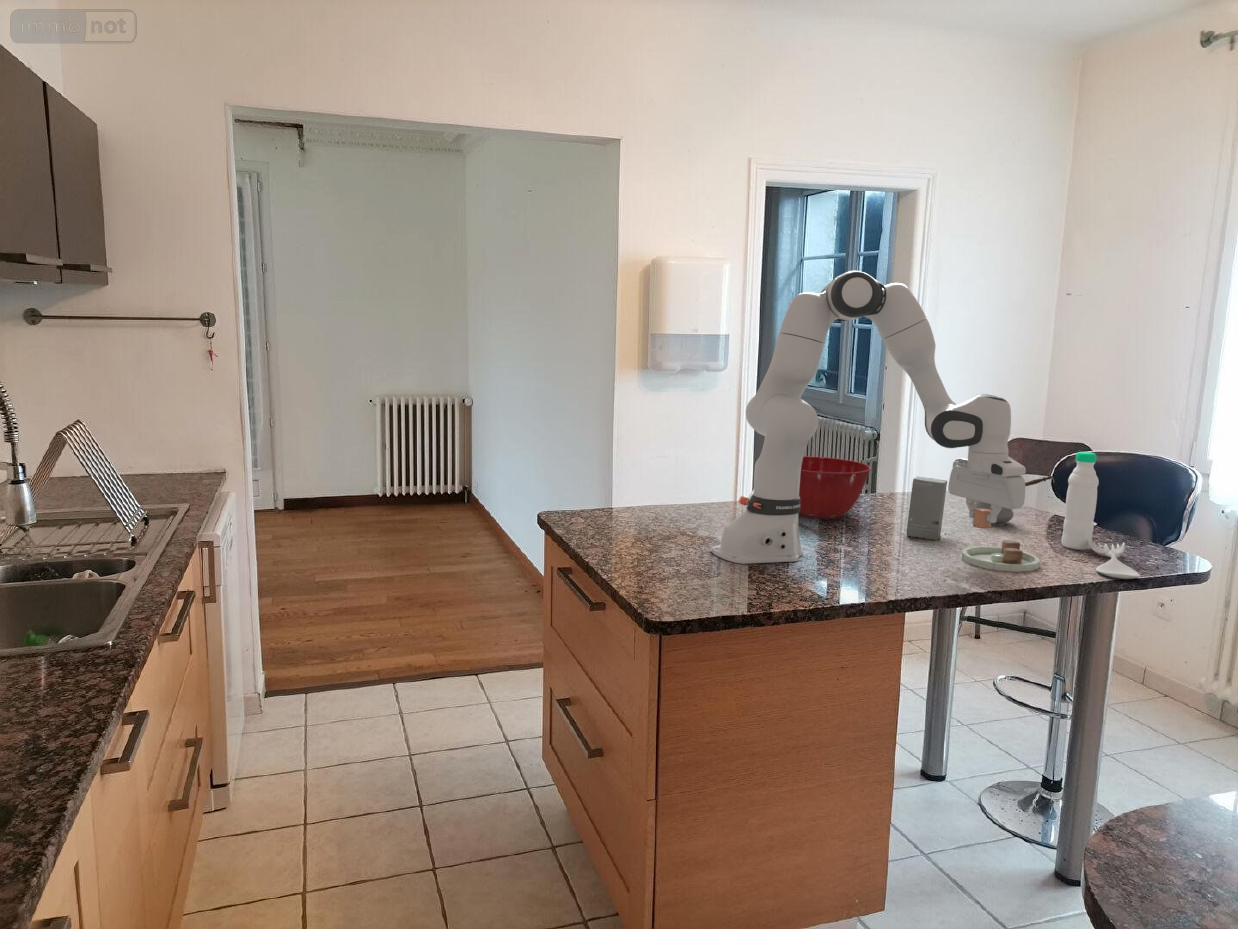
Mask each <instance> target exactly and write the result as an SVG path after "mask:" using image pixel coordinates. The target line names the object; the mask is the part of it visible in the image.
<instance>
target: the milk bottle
mask: <svg viewBox="0 0 1238 929" xmlns="http://www.w3.org/2000/svg"><path fill="white" fill-rule="evenodd" d="M1097 456H1098V455H1097V454H1096V453H1094V452H1089V451H1078V452H1077V453H1076V454H1075V463H1076V467H1074V468H1073V470H1072V472H1071V473H1070V475H1069V477H1068V479H1067V483H1068V487H1067V491H1066V498H1065V507H1064V521H1063V525H1062V526H1063V528H1062V529H1063V532H1062V536H1061V542H1060V543H1061V545H1062V546H1063V547H1064V548H1066V549H1069V550H1075V551H1077V550H1078V551H1088V550H1090V549H1092V548H1091V547H1090V546H1089V545H1088V543H1087V540H1088V539H1089V540H1090V542H1091V543H1093V532H1094V525H1095V524H1094V520H1095V514H1096V509H1097V501H1098V487H1099V482H1100V481H1099V477H1098V476H1097V473H1096V472H1097V471H1096V470H1095V468H1094V467H1095V466H1094V465H1095V464H1096V462H1097Z"/></svg>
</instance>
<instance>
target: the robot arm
mask: <svg viewBox="0 0 1238 929" xmlns="http://www.w3.org/2000/svg"><path fill="white" fill-rule="evenodd" d="M863 317H865V318H866V319H869V320H870V321H871V322H872V323H873V324H874V326H875V327H876V328H877V331H878V333H879V336H880V337H881V339H882V342H883V343H884V346H885V348H886V349H887V351H888V353H889V354H890V356H891V357H892V359H893V360H894V361H895V363H896V364H897V365H898V366H899V367H900V368H902V370H904V373H906V374H907V376H908V377H909V379H910V380H911V382H912V383H913V386H914V389H915V390H916V392H917V395H918V397H919V399H920V401H921V404H922V407H923V410H924V428H925V431H926V434H927V435H928V436H929V438H931V440H933V441H934V442H935V443H936V444H938V445H939V446H940V447H942V448H946V449H957V448H963V447H964V448H965V447H968V450H967V452H968V453H967V458H963V457H958V458H956V459H955V460H954V461H953V463H952V467H951V471H950V474H949V479H948V484H947V485H948V486H947V488H948V489H947V490H948V492H949V494H950V495H951V496H956V497H960V498H965V504H966V506H967V509H968V517H969V518H972V519H974V509H976V506H975V503H976V502H977V501H980V502H984V503H988V504H991V509H993V510H992V512H991V513H990V515H987V519H986V521H987V522H989V523H996V521H997V515H998V514H999V513H1000V511H1001V510H1002V507H1004V508H1008V509H1012V510H1017V509H1021V508H1022V507H1023V506H1024V504H1025V499H1026V486H1025V483H1026V482H1025V481H1026V480H1025V479H1024V477H1023V476H1024V475H1026V471H1027V469H1026V467H1025V466H1024V465H1022V463H1019V462H1018V461H1016V460H1015V459H1013V458H1012V457H1010V456H1009V451H1010V450H1009V447H1008V442H1009V438H1010V435H1011V428H1012V427H1011V426H1012V409H1011V405H1010V403H1009V402H1008V401H1007V400H1006V399H1005V398H1003V397H1000V396H997V395H992V394H988V393H979V394H976V395H975V396H974V397H971V398H970V399H967V400H966V401H963V402H961V403H959V404H956V403H955V402H954V401H953V400H952V399H951V398H950V396H949V395H948V392H947V390H946V388H945V386H944V384H943V381H942V379H941V377H940V374H939V373H938V369H937V367H936V363H935V362H936V361H935V360H936V359H935V357H936V356H935V355H936V354H935V353H936V341H935V337H934V333H933V330H932V327H931V325H930V322H929V320H928V317H927V316H926V313H925V312H924V310H923V308H922V307H921V304H920V303H919V301H918V300H917V298H916V297H915V295H914V294H913V292H912V291H911V289H910V288H909V287H908V286H907V285H906V284H904V283H900V282H894V283H893V282H892V283H888V284H886V285H884V284H883V283H881V282H880V281H878V280H877V279H875V278H874V277H873V276H872V275H870V274H868V273H866V272H864V271H860V270H849V271H846V272H844V273H841V274H839V275H837V276H836V277H835V278H833V279H832V280H831V281H830V282H829V283H828V284H827V285H826V286H825V287H824V288H823V289H822V290H821V292H818V293H816V292H811V291H805V292H801V293H798V294H796V295H795V296H794V297H793V298H792V300H791V302H790V304H789V306H788V308H787V310H786V313H785V315H784V317H783V320H782V323H781V327H780V329H779V333H778V336H777V340H776V344H775V348H774V350H773V355H772V358H771V361H770V364H769V366H768V369H767V371H766V373H765V376H764V378H763V380H762V382H761V383H760V386H759V388H758V389H757V391H756V394H755V395H754V396H753V397H752V398H751V399H750V400H749V402H748V403H747V405H746V409H745V419H746V421H747V424H748V425H749V426H750V427H751V429H753V430H754V431H755V432H756V433H757V434H759V435H761V436H764V441H763V445H762V449H761V452H760V455H759V457H758V458H757V460H756V461H755V464H754V475H753V477H754V478H753V493H752V494H751V496H750V498H748V497H746V496H744V495H742V496H739V498H738V503H739V504H740V505H743V506H746V510H745V511H743V512H742V513H741V514H740V515H739V516H738V517H736V518H735V519H734V520H732V521H731V522H730V523H729V524H727V525H726V526H725V527H724V530H723V532H722V536H721V542H720V544H718V545H713V546H712V547H711V553H713V554H714V556H717V557H719V558H720V559H723V560H726V561H728V562H731V563H732V562H733V563H737V564H743V565H745V564H746V565H747V564H762V563H763V564H765V563H784V562H785V563H786V562H787V563H788V562H798V561H799V558H800V557H802V555H803V554H804V553H803V549H802V544H801V539H800V529H799V527H800V526H799V517H800V516H799V513H800V502H801V498H800V497H799V489H800V474H801V465H802V461H803V457H804V456H805V453H806V449H807V446H808V444H809V441H810V439H811V438H813V437H814V435H815V434H816V432H817V430H818V426H819V416H818V414H817V411H816V410H815V409H814V407H813V406H811V405H810V404H809V403H808V402H807V401H805V400H804V399H802V398H801V397H802V396H803V393H804V392H805V390H806V388H807V387H808V386H809V384H810V383H811V381H813V380H814V378H815V377H816V375H817V373H818V369H819V366H820V362H821V358H822V355H823V351H824V347H825V344H826V341H827V340H826V339H827V336H828V332H829V330H830V327H831V325H832V324H833V323H834V322H847V321H855V320H858V319H860V318H863Z"/></svg>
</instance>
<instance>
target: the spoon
mask: <svg viewBox="0 0 1238 929" xmlns="http://www.w3.org/2000/svg"><path fill="white" fill-rule="evenodd" d="M1087 543H1088V545H1089V546H1090V547H1091V548H1090V549H1091V550H1092V551H1094V552H1095V553H1096V554H1098V555H1100V556H1102V557H1108V558H1110V559H1109V560H1107V561H1106V562H1104V563H1102V564H1099V565H1097V567H1096V568H1095V570H1096V572H1098V573H1100V574H1101V575H1103V576H1106V577H1109V578H1114V579H1118V580H1119V579H1120V580H1133V579H1137V578H1140V577H1141V576H1142V575H1141V574H1140V573H1139V572H1138V571H1136V570H1135V569H1134V568H1131V567H1129V566H1128V565H1126V564H1125V563H1123V562H1121V561H1120V560H1119V559H1118V558H1120V557H1121V555H1122V554H1123V553H1124V551H1125V549H1126V543H1125V542H1123V543H1122V544H1121V546H1120V545H1119V543H1117V544H1116V548H1115V545H1114V543H1112V544H1111V549H1110V548H1109V545H1108V544H1107V543H1104V545H1103V547H1102V546H1101V544H1100V542H1098V543H1097V544H1096V542H1095V540H1092V543H1091V542H1090V540H1089V539H1088V540H1087Z"/></svg>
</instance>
